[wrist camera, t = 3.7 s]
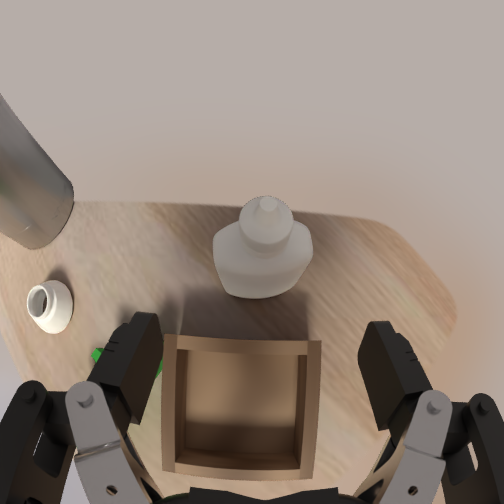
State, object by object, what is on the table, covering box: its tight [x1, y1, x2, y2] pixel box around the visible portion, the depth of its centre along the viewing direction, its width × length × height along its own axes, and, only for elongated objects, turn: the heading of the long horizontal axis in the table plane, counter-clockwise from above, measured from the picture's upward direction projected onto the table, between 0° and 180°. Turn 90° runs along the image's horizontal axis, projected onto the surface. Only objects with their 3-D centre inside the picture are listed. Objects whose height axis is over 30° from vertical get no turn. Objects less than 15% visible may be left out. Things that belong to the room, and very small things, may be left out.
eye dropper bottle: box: [213, 196, 313, 299], centre depth 17 cm, size 4×6×12 cm
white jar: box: [27, 280, 73, 334], centre depth 20 cm, size 5×3×5 cm
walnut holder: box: [161, 333, 321, 481], centre depth 17 cm, size 10×10×4 cm
